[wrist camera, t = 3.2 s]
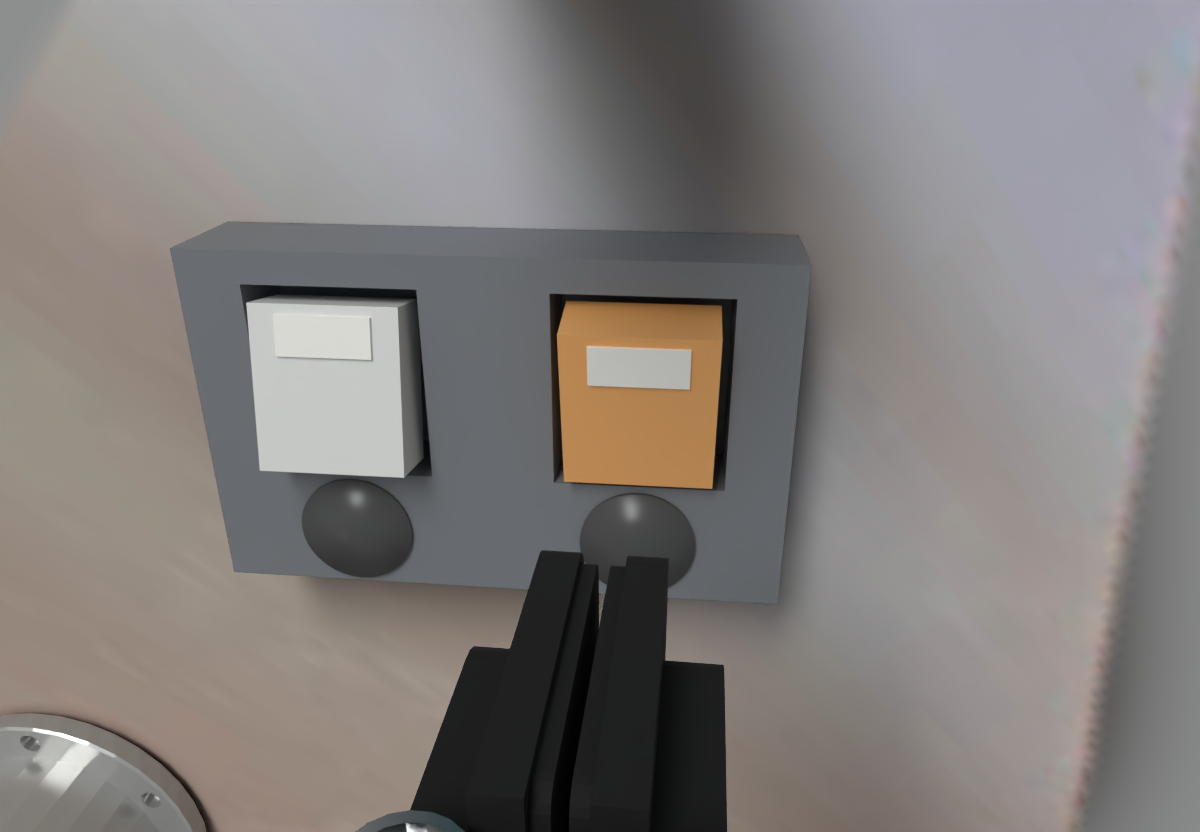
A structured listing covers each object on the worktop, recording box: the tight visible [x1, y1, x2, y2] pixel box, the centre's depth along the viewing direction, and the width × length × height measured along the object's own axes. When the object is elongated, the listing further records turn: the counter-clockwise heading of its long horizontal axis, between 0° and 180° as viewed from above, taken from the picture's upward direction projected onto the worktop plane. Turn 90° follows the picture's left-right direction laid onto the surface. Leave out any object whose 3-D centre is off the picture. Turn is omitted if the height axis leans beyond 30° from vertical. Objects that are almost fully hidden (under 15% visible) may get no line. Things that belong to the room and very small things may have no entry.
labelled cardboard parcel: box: [557, 301, 723, 489], centre depth 26 cm, size 5×4×2 cm
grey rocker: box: [246, 294, 424, 478], centre depth 27 cm, size 5×4×2 cm
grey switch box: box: [170, 222, 812, 604], centre depth 29 cm, size 11×18×4 cm, turn 90°
